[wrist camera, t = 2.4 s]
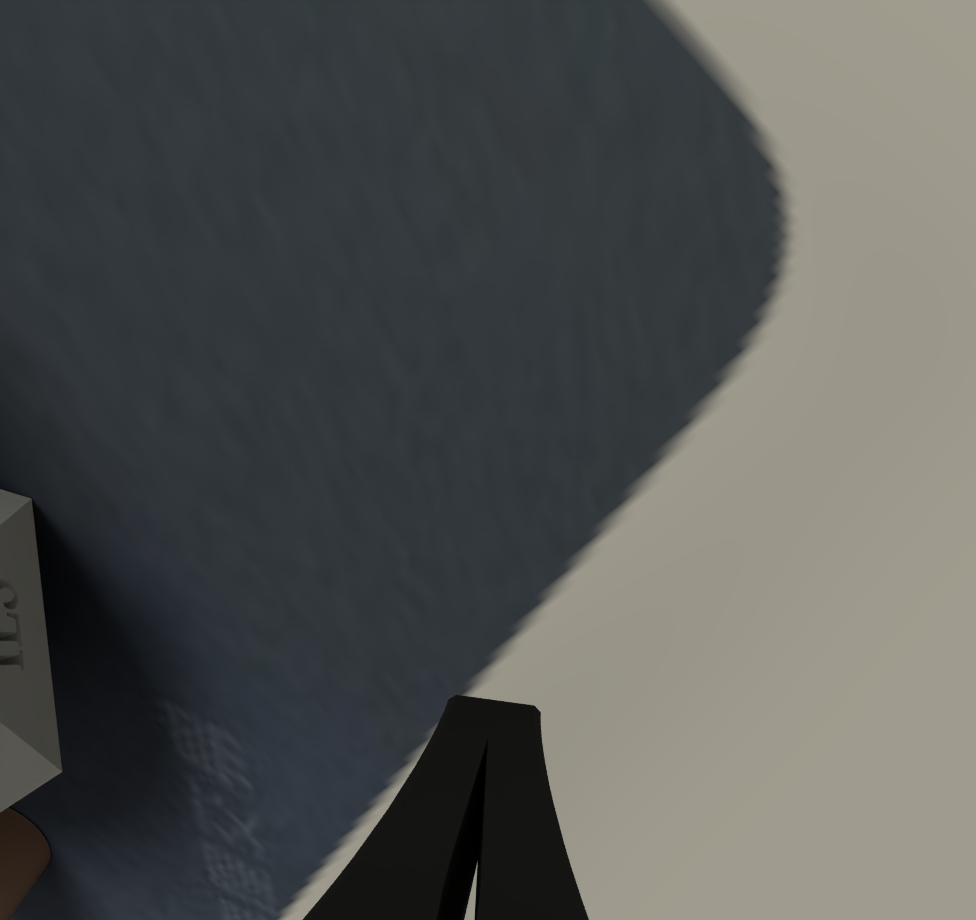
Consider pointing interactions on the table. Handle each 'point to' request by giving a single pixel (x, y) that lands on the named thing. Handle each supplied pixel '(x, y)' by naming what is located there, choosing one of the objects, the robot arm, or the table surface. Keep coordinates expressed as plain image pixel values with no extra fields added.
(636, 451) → the table surface
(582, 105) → the table surface
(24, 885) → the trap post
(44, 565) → the table surface
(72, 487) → the table surface
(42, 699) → the die
